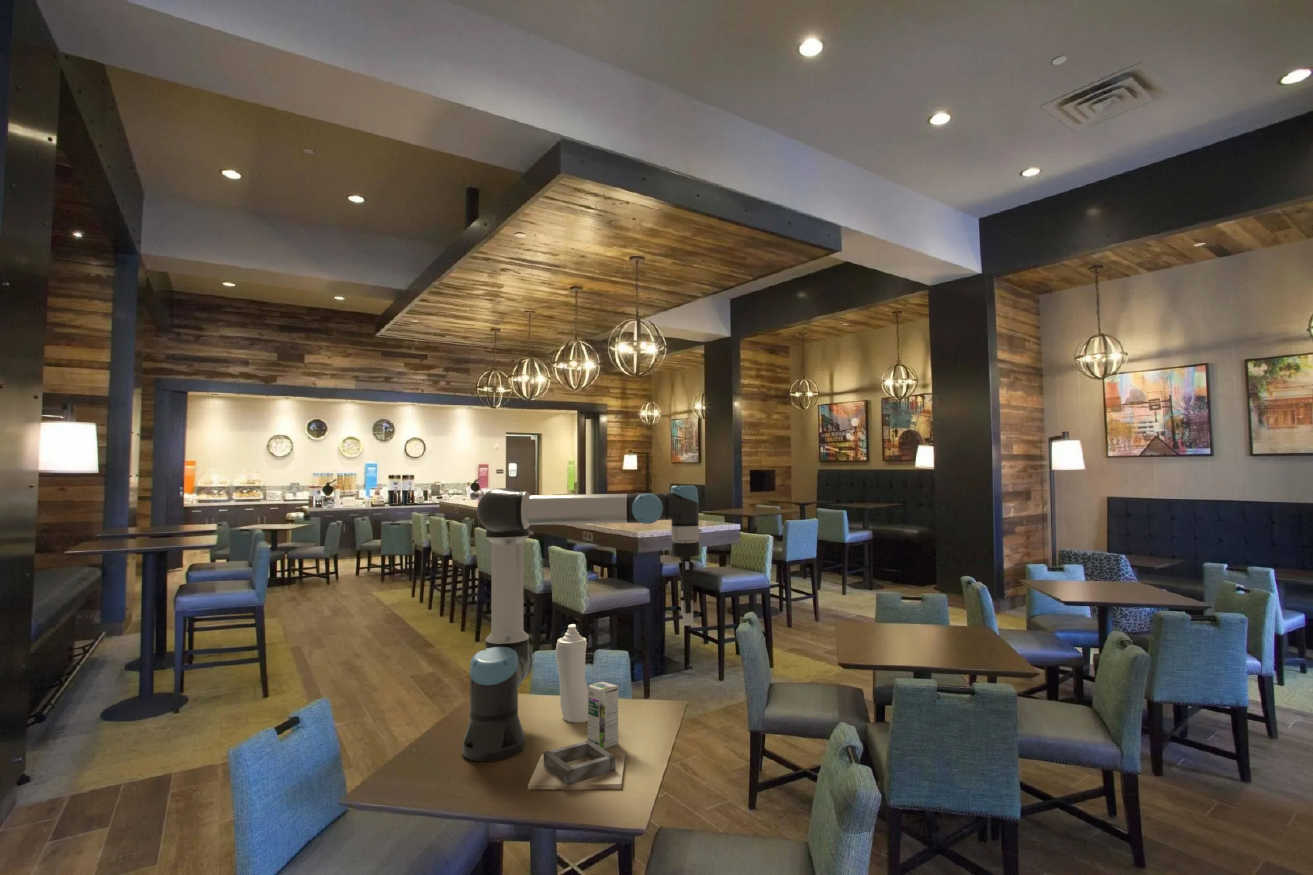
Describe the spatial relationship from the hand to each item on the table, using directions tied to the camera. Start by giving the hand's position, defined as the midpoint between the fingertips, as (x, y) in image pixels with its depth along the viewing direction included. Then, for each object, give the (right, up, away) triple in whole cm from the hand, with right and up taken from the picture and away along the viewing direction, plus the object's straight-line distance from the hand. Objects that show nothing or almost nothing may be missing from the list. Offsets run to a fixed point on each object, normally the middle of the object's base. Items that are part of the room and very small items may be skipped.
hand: (687, 620), depth 173 cm
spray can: (-32, -29, +8) cm, 44 cm away
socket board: (-26, -26, -29) cm, 47 cm away
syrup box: (-22, -28, -13) cm, 38 cm away
